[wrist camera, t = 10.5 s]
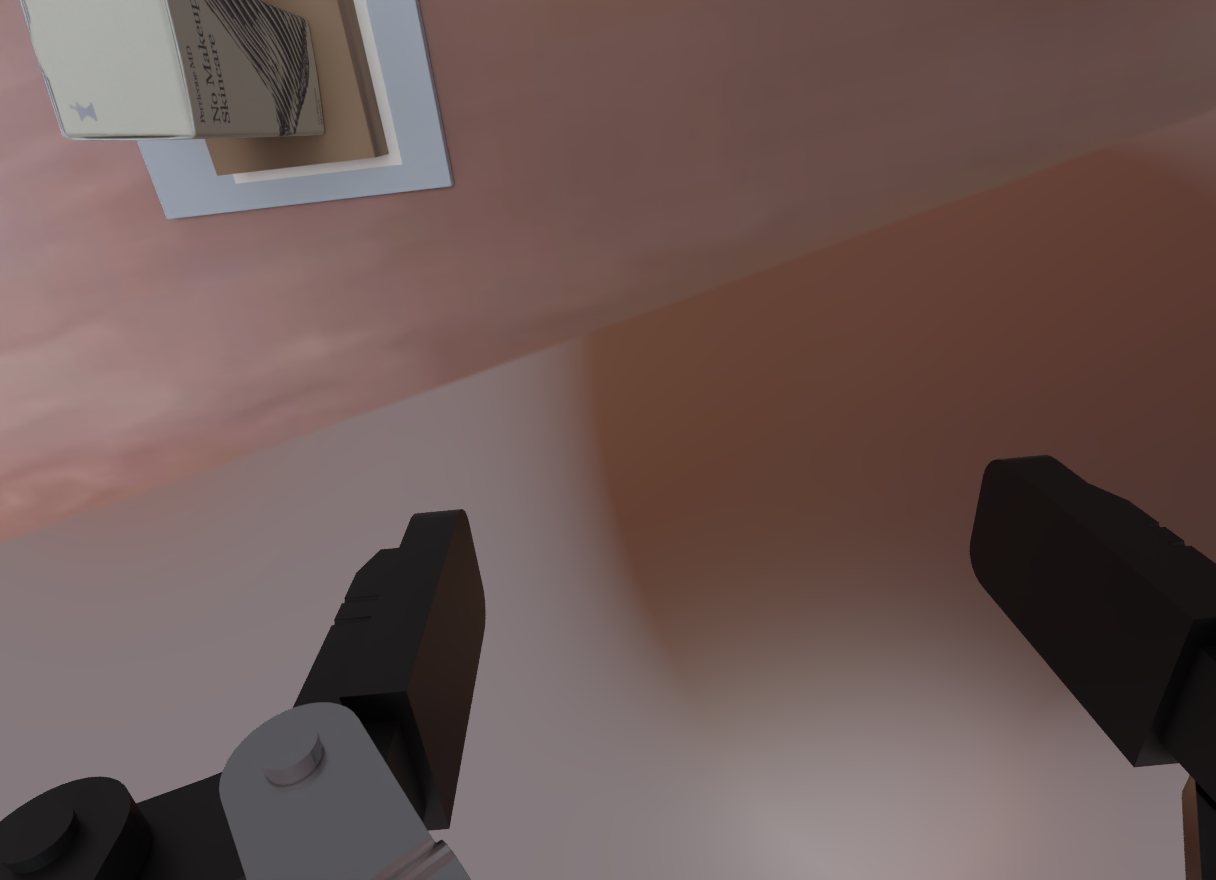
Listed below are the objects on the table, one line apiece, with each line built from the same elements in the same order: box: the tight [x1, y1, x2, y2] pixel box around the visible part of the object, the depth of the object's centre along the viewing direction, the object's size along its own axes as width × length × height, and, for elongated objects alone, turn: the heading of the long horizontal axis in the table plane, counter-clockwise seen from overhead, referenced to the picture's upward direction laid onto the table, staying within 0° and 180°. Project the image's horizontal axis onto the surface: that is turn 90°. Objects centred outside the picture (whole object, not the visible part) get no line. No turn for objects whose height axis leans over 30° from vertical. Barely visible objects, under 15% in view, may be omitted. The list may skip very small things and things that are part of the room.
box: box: [20, 0, 324, 141], centre depth 26 cm, size 5×4×13 cm
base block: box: [205, 0, 389, 176], centre depth 33 cm, size 8×8×3 cm
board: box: [137, 0, 454, 219], centre depth 34 cm, size 16×16×1 cm
